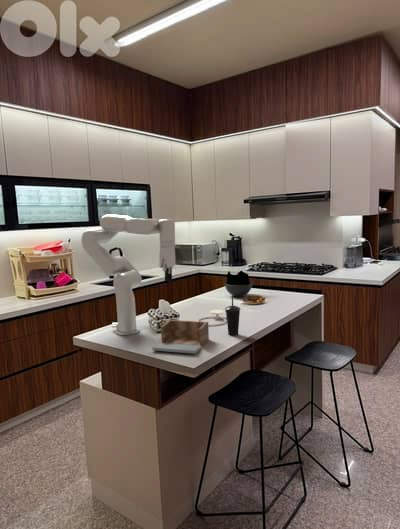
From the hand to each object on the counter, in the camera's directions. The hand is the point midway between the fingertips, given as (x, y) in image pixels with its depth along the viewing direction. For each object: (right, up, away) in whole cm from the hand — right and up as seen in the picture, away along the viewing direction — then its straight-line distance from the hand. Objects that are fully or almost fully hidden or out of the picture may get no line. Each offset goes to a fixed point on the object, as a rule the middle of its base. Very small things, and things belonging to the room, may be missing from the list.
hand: (168, 281), depth 183 cm
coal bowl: (+44, -15, +88) cm, 99 cm away
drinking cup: (+32, -27, +2) cm, 42 cm away
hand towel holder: (+23, -25, +27) cm, 43 cm away
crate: (+9, -29, -7) cm, 31 cm away
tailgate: (+7, -30, -14) cm, 33 cm away
